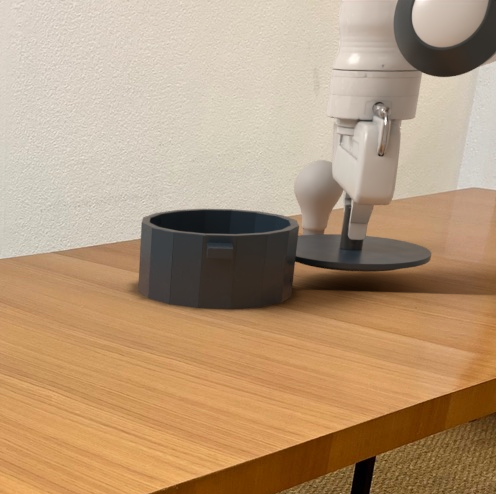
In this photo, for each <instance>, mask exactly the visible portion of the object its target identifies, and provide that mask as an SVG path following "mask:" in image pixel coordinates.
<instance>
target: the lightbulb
mask: <svg viewBox="0 0 496 494" xmlns="http://www.w3.org/2000/svg"><path fill="white" fill-rule="evenodd" d="M293 191H294V195H295V198H296V202H297V203H298V206H299V208H300V209H299V210H300V212H301V227H302V235H318V234H325V231H326V229H327V228H328V223H329V220H330V216H331V213H332V212H333V210H334V208H335V206H336V205H337V203H338V202H339V200H340V199H341V197H342V195H343V194H344V190H343V188H342V187H341V186H340V185H339V184H338V183H337V182H336V181H335V180H334V178H333V174H332V161H329V160H325V159H318V160H314V161H311V162H309V163H307V164H305V165H304V166H303V167H302V168H301V169H300V170H299V172H298V173H297V175H296V176H295V179H294V184H293Z"/></svg>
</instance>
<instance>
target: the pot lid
mask: <svg viewBox="0 0 496 494" xmlns="http://www.w3.org/2000/svg"><path fill="white" fill-rule="evenodd" d="M351 207H352V206H351V205H346V206H345V210H344V209H343V217H342V224H343V225H342V226H341V231H340V233H339V234H337V233H334V234H333V233H329V234H328V233H324V234H318V235H303V234H302V235H298V241H297V249H296V258H295V263H298V264H301V265H305V266H308V267H312V268H318V269H324V270H333V271H342V272H357V273H358V272H364V273H365V272H367V273H369V272H371V273H374V272H375V273H376V272H389V271H395V270H397V271H398V270H403V269H409V268H415V267H416V268H417V267H419V266H423V265H425V264H428V263H429V262H430V261H431V259H432V252H431V250H430V249H428V248H427V247H425V246H423V245H420V244H416V243H413V242H409V241H405V240H401V239H393V238H388V237H380V236H371V235H366V237H365V238H364V239H363V240H351V239H350V238H349V237H348V235H347V229H348V221H350V214H351Z"/></svg>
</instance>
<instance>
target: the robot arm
mask: <svg viewBox="0 0 496 494" xmlns="http://www.w3.org/2000/svg"><path fill="white" fill-rule="evenodd" d="M337 27H338V34H339V35H338V36H339V45H338V49H337V53H336V55H335V58H334V59H333V62H332V67H331V74H330V75H331V76H330V83H329V89H328V90H329V91H328V99H327V107H326V117H327V118H330V119H331V118H332V119H333V126H332V144H331V145H332V148H331V162H332V174H333V178H334V180H335V181H336V182H337V183H338V184H339V185H340V186H341V187H342V188H343V196H342V197H343V199H342V200H343V201H342V202H343V204H342V205H343V211H344V210H345V206H346V205H351V206H352V207H351V214H350V221H348V229H347V235H348V237H349V238H350V239H351V240H363V239H364V238H365V237H366V236H367V231H368V224H369V222H370V219H371V216H372V213H373V210H374V206H389V205H390V204H391V203H392V201H393V198H394V196H395V195H394V194H395V190H396V183H397V175H398V166H399V158H400V150H401V137H402V136H401V133H402V132H401V126H402V121H408V120H414V119H415V118H416V113H417V108H418V101H419V95H420V89H421V82H422V75H423V74H424V75H427V76H432V77H438V78H451V77H458V76H462V75H465V74H468V73H469V72H472V71H474V70H475V69H477V68H479V67H484V66H485V65H490V64H491V63H494V62H496V0H340V3H339V12H338V18H337ZM342 225H343V223H342Z"/></svg>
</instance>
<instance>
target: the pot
mask: <svg viewBox="0 0 496 494" xmlns="http://www.w3.org/2000/svg"><path fill="white" fill-rule="evenodd" d="M299 230H300V225H299V222H298V220H297V219H294V218H292V217H289V216H285V215H282V214H277V213H271V212H266V211H258V210H247V209H236V208H235V209H234V208H190V209H189V208H187V209H173V210H167V211H160V212H155V213H151V214H149V215H147V216H143V217H142V220H141V228H140V245H139V247H140V249H139V266H138V267H139V268H138V284H137V285H138V286H137V287H138V288H137V292H138V293H140V294H141V295H142V296H144V297H145V298H147V299H149V300H153V301H156V302H160V303H163V304H167V305H172V306H178V307H179V306H180V307H186V308H194V309H206V310H207V309H208V310H210V309H211V310H241V309H256V308H258V309H259V308H263V307H268V306H273V305H278V304H282V303H283V302H285V301H286V300H288V299H290V298H291V297H292V291H293V284H294V275H295V265H296V262H295V258H296V249H297V241H298V236H299Z"/></svg>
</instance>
